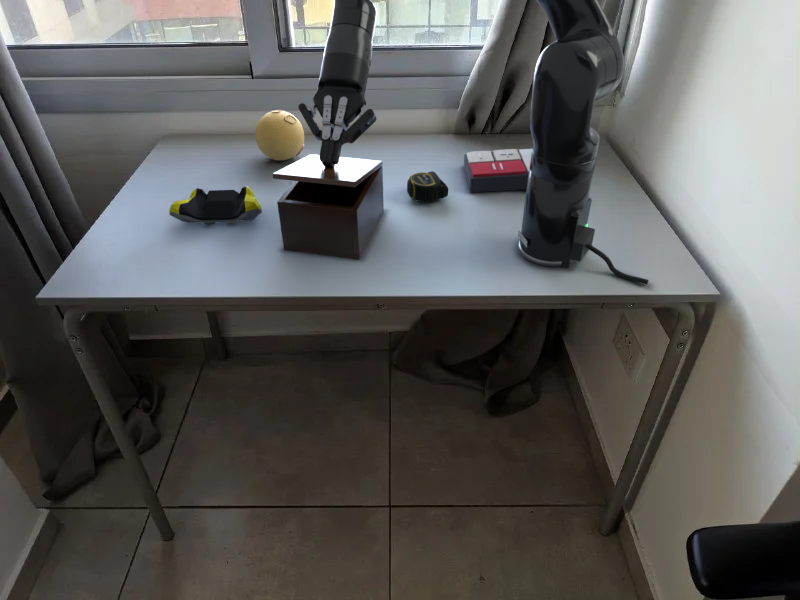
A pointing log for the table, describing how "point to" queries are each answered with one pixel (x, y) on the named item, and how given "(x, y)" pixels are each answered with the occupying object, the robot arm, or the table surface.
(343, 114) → the robot arm
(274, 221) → the table surface
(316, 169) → the lid
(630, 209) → the table surface
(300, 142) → the stress ball
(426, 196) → the tape measure
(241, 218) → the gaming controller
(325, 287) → the table surface
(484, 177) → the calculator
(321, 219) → the chest
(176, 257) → the table surface
